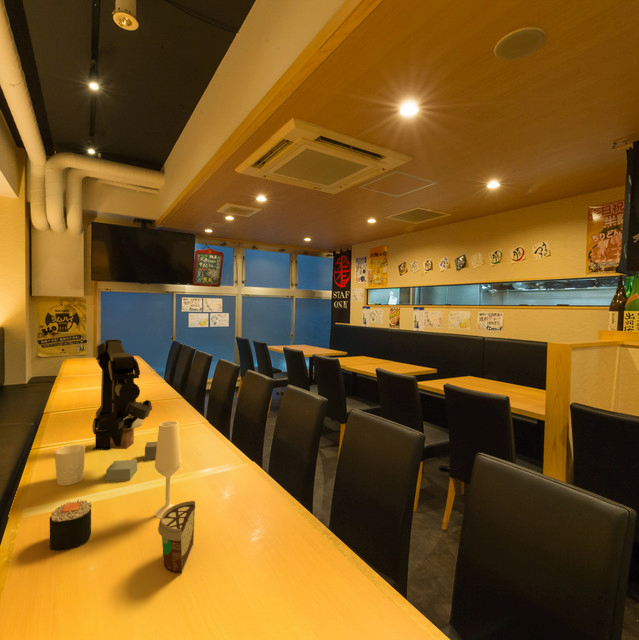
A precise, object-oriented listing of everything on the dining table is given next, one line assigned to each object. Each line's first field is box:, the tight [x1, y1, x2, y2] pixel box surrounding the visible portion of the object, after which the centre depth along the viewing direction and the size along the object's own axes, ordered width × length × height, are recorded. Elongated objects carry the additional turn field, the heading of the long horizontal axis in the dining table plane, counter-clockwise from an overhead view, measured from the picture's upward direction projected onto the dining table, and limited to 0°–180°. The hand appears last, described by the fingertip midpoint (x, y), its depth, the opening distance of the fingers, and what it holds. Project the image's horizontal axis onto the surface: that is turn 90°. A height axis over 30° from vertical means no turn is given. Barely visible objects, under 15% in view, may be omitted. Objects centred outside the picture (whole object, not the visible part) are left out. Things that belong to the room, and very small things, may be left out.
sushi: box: [49, 499, 93, 552], centre depth 87 cm, size 8×8×8 cm
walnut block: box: [109, 428, 135, 450], centre depth 120 cm, size 5×5×5 cm
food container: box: [157, 500, 196, 575], centre depth 81 cm, size 12×6×10 cm, turn 5°
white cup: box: [54, 444, 86, 486], centre depth 116 cm, size 8×8×10 cm
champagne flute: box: [154, 420, 183, 519], centre depth 100 cm, size 7×7×24 cm
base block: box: [105, 459, 138, 483], centre depth 120 cm, size 7×7×4 cm
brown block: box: [144, 441, 157, 462], centre depth 135 cm, size 5×5×5 cm
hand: (122, 443), depth 120 cm, fingers closed on walnut block, 5 cm apart
